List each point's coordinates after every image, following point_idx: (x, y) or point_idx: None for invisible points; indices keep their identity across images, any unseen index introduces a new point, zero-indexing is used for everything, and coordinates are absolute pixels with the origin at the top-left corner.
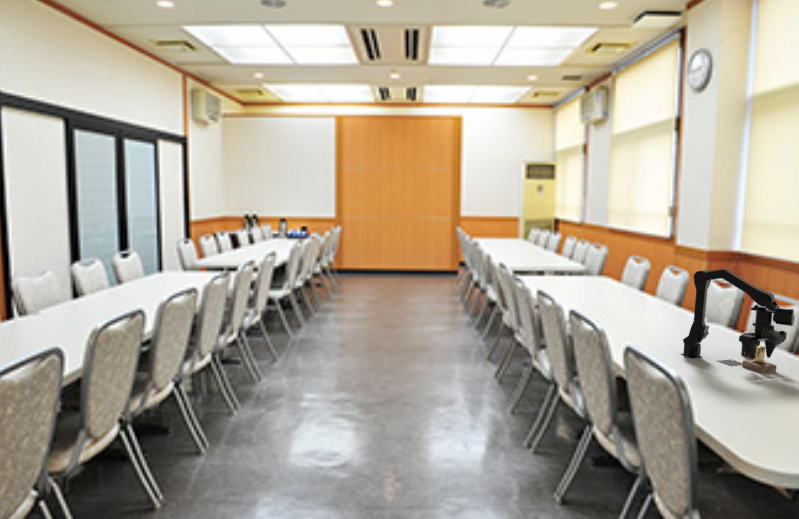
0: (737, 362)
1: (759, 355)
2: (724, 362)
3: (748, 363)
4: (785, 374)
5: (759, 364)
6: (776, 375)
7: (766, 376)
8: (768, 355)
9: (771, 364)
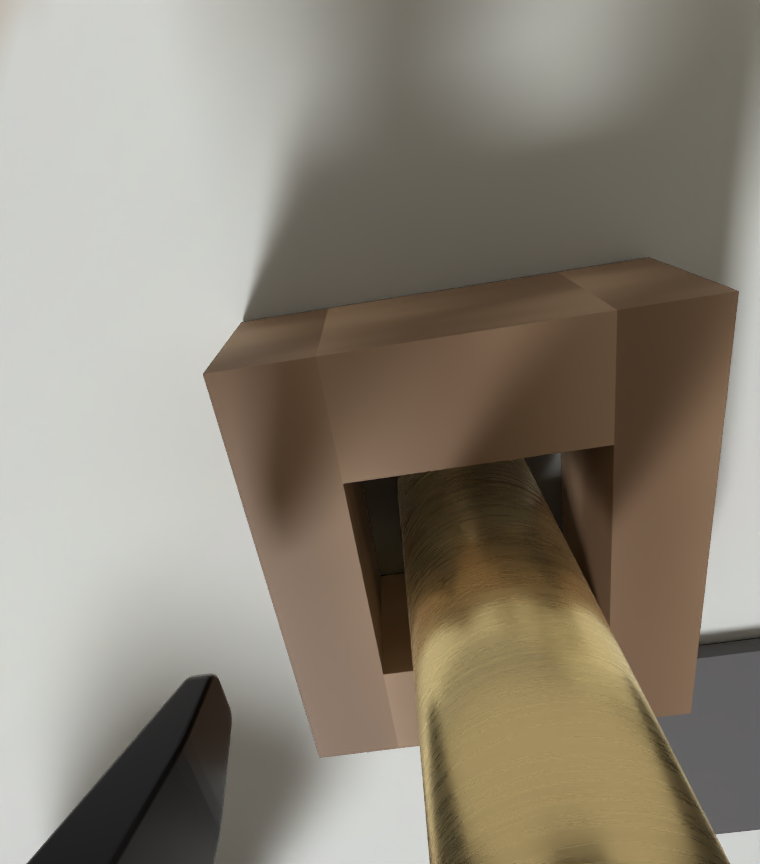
0: None
1: (644, 697)
2: (719, 776)
3: (692, 595)
4: (112, 173)
5: (542, 508)
6: (383, 120)
7: (690, 68)
8: (209, 744)
9: (285, 453)
